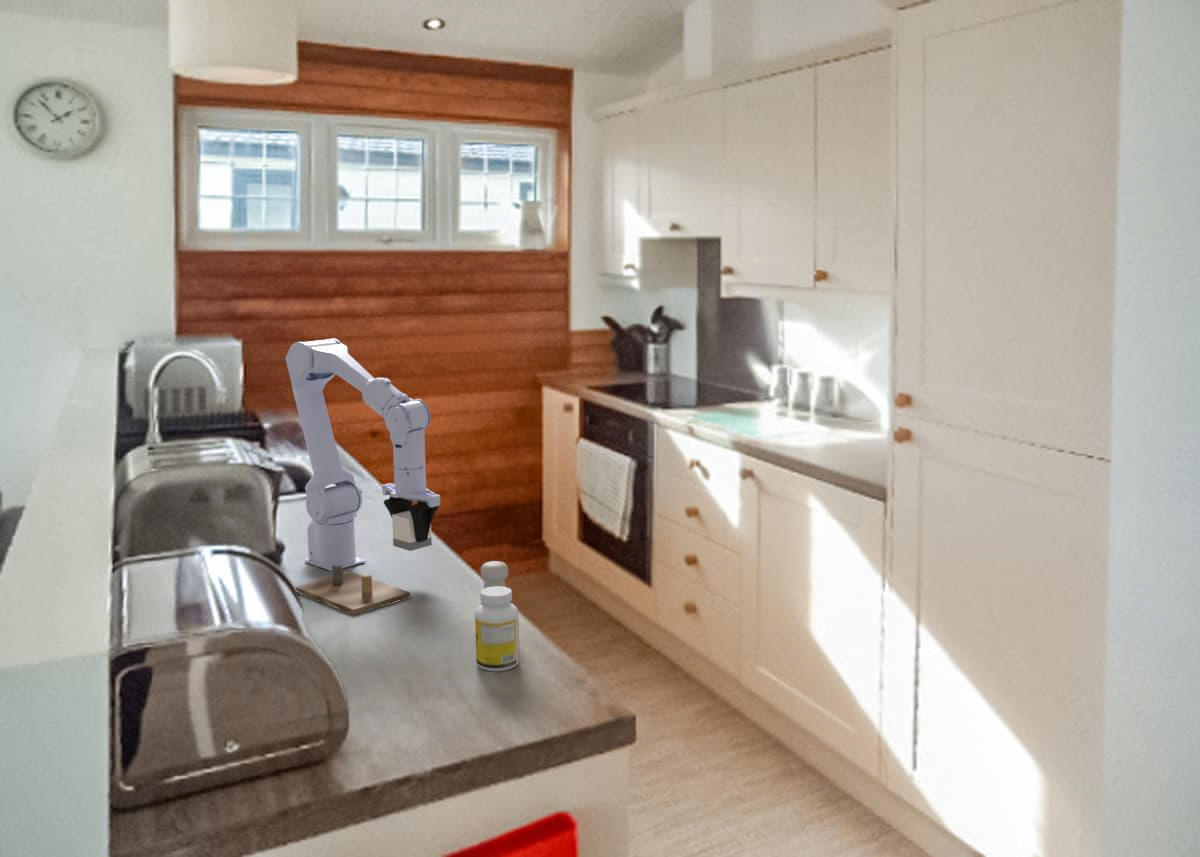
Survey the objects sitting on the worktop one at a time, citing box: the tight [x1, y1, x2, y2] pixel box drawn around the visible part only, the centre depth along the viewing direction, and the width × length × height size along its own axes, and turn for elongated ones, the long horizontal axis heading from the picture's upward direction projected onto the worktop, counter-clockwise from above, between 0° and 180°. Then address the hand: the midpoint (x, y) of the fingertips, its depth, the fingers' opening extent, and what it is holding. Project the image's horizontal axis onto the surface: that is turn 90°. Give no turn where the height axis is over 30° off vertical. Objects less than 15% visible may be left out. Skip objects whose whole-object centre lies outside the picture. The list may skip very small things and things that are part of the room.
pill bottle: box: [474, 586, 520, 672], centre depth 161 cm, size 6×6×12 cm
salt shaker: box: [480, 560, 509, 605], centre depth 170 cm, size 6×6×13 cm
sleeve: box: [391, 511, 433, 552], centre depth 199 cm, size 5×5×6 cm
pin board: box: [295, 564, 411, 616], centre depth 193 cm, size 18×12×4 cm, turn 48°
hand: (412, 538), depth 199 cm, fingers closed on sleeve, 5 cm apart
